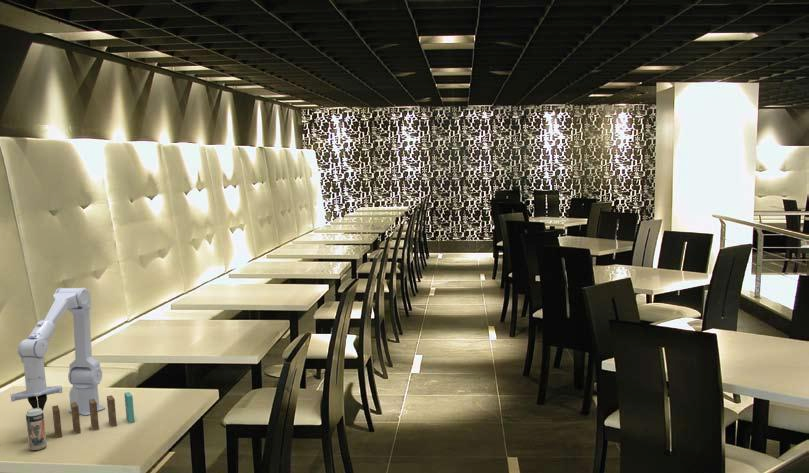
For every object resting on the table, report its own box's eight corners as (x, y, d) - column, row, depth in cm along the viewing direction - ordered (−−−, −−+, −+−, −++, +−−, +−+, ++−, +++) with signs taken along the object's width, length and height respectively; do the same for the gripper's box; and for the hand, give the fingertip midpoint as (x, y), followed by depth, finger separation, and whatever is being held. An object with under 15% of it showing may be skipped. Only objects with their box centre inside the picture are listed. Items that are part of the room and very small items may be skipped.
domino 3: (93, 430, 251) (91, 403, 250) (91, 426, 256) (88, 399, 255) (99, 429, 252) (96, 402, 251) (96, 425, 256) (94, 398, 255)
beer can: (29, 452, 235) (25, 414, 233) (29, 447, 239) (25, 409, 237) (47, 449, 237) (43, 410, 235) (46, 444, 241) (42, 406, 240)
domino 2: (75, 434, 249) (72, 407, 248) (73, 429, 253) (70, 402, 252) (80, 433, 249) (78, 405, 248) (78, 428, 254) (76, 401, 253)
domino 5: (129, 423, 257) (127, 396, 256) (126, 419, 261) (124, 392, 260) (134, 422, 258) (132, 395, 257) (131, 418, 262) (129, 391, 261)
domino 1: (56, 438, 246) (53, 410, 245) (54, 433, 250) (52, 406, 249) (62, 437, 247) (59, 409, 246) (60, 432, 251) (57, 405, 250)
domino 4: (111, 426, 254) (109, 400, 253) (108, 422, 258) (106, 396, 257) (116, 425, 255) (114, 399, 254) (114, 421, 259) (111, 395, 258)
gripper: (10, 384, 237) (14, 427, 238) (61, 375, 244) (65, 417, 245) (8, 378, 243) (12, 421, 244) (59, 370, 250) (63, 411, 251)
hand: (39, 419), depth 245 cm, fingers closed
